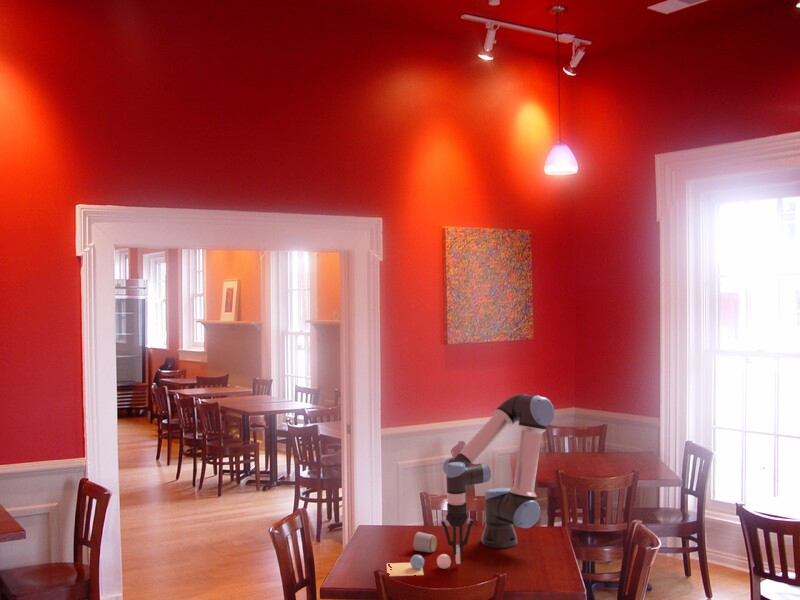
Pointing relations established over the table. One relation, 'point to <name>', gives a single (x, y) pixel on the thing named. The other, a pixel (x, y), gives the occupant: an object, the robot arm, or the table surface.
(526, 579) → the table surface
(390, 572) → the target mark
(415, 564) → the object ball
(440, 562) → the cue ball
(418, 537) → the ceramic mug
